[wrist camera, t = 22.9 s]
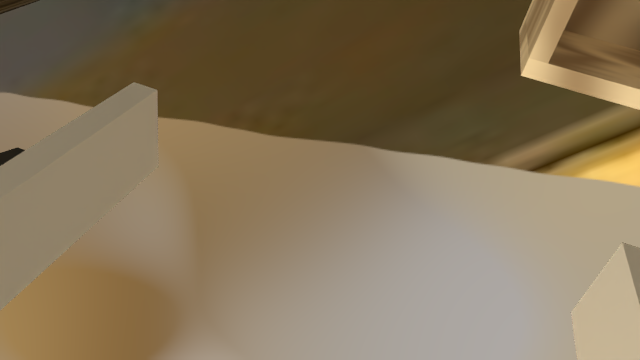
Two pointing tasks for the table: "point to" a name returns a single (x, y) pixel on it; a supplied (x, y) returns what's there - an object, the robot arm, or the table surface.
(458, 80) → the table surface
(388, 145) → the table surface
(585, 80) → the box
